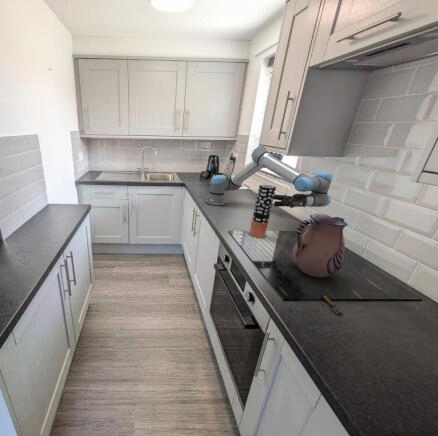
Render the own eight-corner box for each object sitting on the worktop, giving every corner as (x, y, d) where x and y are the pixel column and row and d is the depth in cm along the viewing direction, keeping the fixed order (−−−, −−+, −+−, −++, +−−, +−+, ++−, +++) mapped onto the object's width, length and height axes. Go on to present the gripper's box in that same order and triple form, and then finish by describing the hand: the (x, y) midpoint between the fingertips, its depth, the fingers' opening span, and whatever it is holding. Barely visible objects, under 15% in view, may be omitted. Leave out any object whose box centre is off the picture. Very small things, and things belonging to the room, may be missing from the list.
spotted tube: (270, 223, 129) (279, 188, 122) (256, 222, 129) (263, 188, 122) (264, 218, 137) (271, 185, 130) (250, 217, 137) (256, 184, 130)
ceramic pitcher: (347, 279, 95) (369, 224, 86) (309, 288, 89) (329, 229, 80) (307, 258, 111) (323, 209, 102) (273, 265, 105) (286, 213, 96)
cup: (250, 230, 142) (253, 217, 138) (265, 234, 137) (268, 220, 134) (248, 235, 135) (251, 221, 132) (263, 239, 131) (267, 224, 128)
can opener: (321, 297, 84) (322, 294, 84) (328, 297, 84) (329, 295, 84) (335, 315, 76) (337, 312, 76) (343, 316, 76) (344, 313, 75)
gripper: (317, 213, 121) (279, 214, 119) (285, 200, 144) (253, 200, 142) (321, 199, 118) (283, 200, 116) (288, 188, 142) (256, 188, 139)
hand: (266, 200), depth 129 cm, fingers open, 13 cm apart
